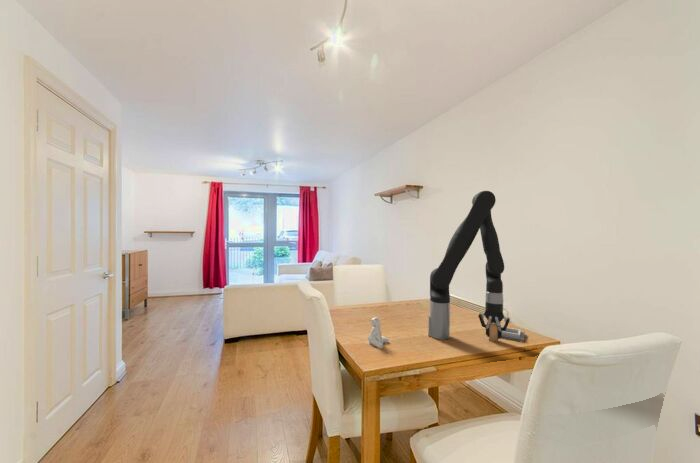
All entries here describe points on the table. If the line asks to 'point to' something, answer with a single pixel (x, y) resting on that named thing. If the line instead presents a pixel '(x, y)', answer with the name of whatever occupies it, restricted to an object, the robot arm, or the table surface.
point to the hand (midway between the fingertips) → (493, 337)
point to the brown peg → (493, 332)
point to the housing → (513, 334)
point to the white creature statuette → (376, 334)
